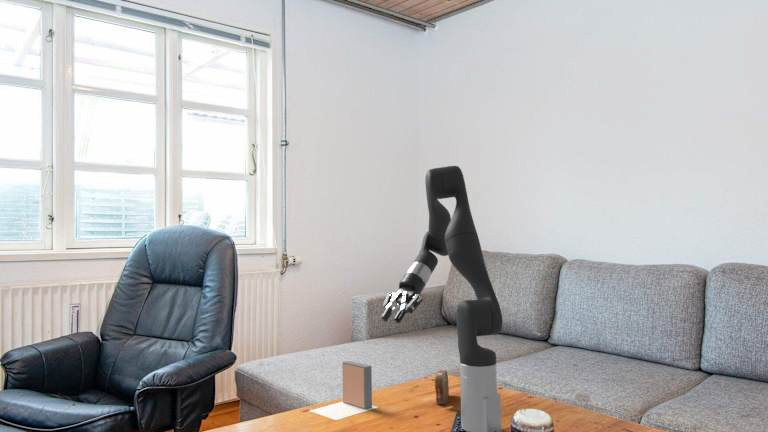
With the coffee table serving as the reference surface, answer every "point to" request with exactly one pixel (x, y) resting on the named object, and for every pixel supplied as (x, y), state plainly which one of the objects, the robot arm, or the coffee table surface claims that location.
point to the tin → (441, 387)
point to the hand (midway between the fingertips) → (390, 320)
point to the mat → (339, 410)
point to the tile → (357, 384)
